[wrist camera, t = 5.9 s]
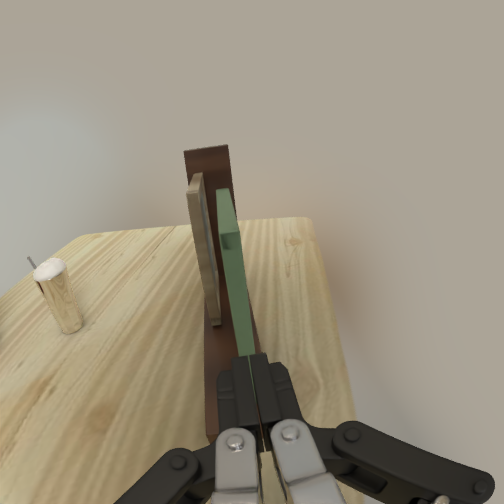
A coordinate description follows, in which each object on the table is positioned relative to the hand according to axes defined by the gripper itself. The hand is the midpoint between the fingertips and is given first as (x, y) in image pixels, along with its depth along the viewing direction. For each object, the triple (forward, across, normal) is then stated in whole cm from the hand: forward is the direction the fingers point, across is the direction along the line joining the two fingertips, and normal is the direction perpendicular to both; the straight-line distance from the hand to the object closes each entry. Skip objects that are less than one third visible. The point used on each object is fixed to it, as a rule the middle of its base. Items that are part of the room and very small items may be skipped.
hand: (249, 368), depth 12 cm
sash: (+9, 0, +8) cm, 12 cm away
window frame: (+14, +1, +10) cm, 17 cm away
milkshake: (+19, +22, +10) cm, 31 cm away
